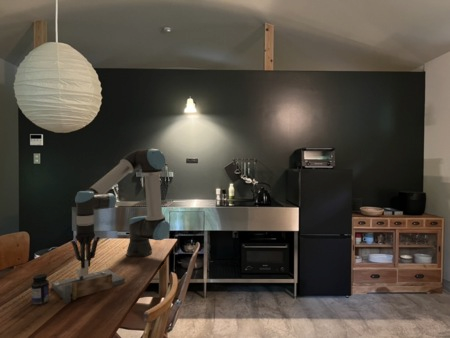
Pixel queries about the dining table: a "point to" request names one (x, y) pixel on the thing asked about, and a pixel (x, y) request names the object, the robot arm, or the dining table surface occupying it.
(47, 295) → the pill bottle
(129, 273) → the dining table surface
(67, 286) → the hinge bracket
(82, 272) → the fader knob
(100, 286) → the door
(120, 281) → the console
